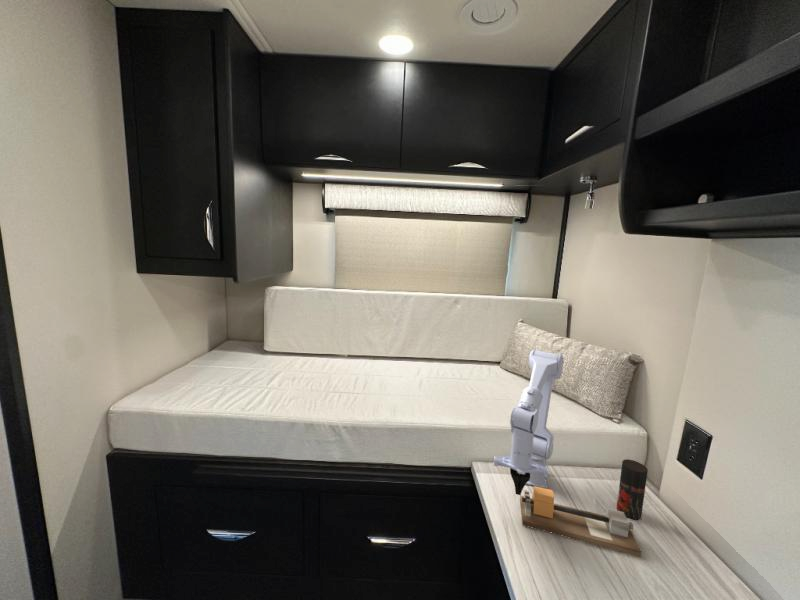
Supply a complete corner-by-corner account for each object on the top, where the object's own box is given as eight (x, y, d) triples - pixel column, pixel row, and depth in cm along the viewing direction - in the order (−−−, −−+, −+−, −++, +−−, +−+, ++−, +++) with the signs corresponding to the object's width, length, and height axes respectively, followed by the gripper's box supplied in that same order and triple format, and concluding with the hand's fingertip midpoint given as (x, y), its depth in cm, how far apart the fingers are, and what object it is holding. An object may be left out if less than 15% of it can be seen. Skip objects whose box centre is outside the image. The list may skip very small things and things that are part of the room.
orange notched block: (531, 503, 91) (533, 484, 91) (550, 507, 90) (552, 489, 89) (533, 513, 87) (535, 494, 87) (552, 518, 86) (554, 498, 85)
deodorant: (645, 522, 88) (652, 474, 87) (622, 518, 90) (628, 470, 88) (634, 506, 94) (640, 461, 92) (612, 503, 95) (618, 458, 94)
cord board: (519, 499, 95) (521, 481, 95) (624, 525, 87) (627, 505, 86) (522, 525, 86) (524, 505, 85) (640, 556, 78) (643, 535, 77)
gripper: (495, 451, 87) (492, 495, 89) (551, 463, 83) (546, 509, 84) (495, 438, 94) (492, 479, 95) (547, 448, 89) (543, 491, 91)
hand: (517, 492), depth 90 cm, fingers closed
